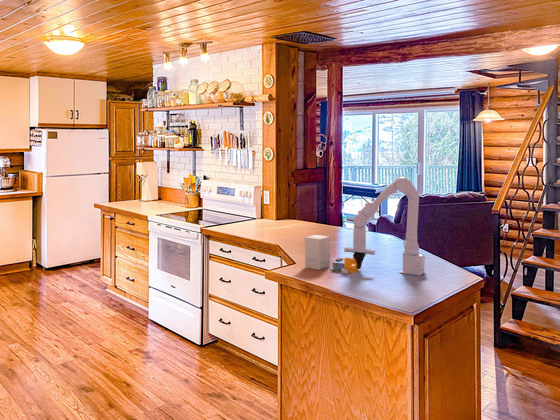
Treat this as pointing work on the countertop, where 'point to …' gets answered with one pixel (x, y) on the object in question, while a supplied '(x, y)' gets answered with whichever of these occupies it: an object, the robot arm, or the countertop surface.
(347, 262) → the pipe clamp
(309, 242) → the supplement box
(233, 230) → the countertop surface
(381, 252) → the countertop surface
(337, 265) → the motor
